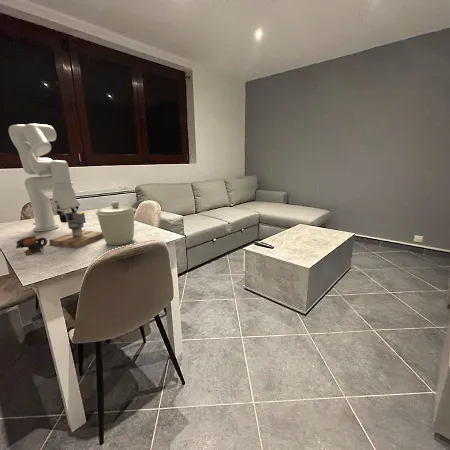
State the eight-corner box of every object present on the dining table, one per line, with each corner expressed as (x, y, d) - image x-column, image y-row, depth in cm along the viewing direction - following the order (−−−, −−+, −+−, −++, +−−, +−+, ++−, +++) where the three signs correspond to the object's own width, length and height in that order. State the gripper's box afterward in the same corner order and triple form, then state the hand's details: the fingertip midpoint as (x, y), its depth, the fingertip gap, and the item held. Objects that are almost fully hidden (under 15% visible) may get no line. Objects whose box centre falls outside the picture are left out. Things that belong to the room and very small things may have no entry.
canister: (102, 239, 132) (96, 200, 127) (137, 235, 139) (133, 197, 133) (98, 250, 116) (91, 206, 110) (139, 245, 122) (134, 203, 117)
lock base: (49, 244, 125) (46, 231, 123) (79, 234, 141) (77, 222, 140) (77, 248, 120) (74, 234, 118) (105, 236, 136) (103, 224, 134)
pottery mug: (18, 258, 109) (10, 241, 109) (26, 260, 118) (18, 244, 118) (48, 246, 114) (41, 230, 115) (54, 249, 123) (47, 234, 123)
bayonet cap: (62, 228, 127) (59, 212, 125) (73, 224, 133) (71, 210, 131) (78, 229, 124) (76, 214, 122) (89, 226, 130) (87, 211, 128)
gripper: (72, 184, 133) (77, 216, 138) (40, 188, 117) (48, 224, 122) (83, 184, 131) (88, 217, 136) (52, 188, 115) (59, 225, 120)
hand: (69, 220), depth 129 cm, fingers open, 5 cm apart
